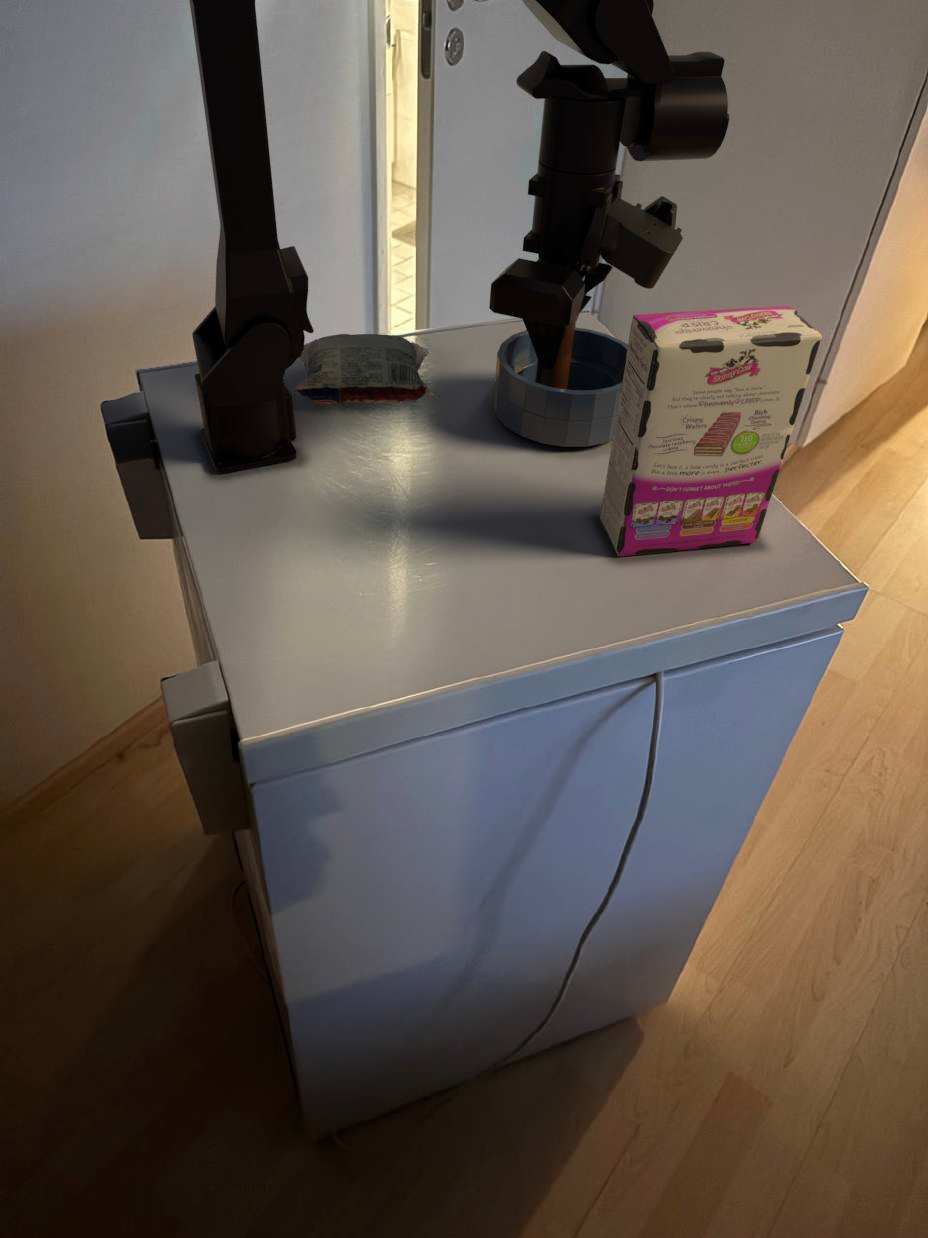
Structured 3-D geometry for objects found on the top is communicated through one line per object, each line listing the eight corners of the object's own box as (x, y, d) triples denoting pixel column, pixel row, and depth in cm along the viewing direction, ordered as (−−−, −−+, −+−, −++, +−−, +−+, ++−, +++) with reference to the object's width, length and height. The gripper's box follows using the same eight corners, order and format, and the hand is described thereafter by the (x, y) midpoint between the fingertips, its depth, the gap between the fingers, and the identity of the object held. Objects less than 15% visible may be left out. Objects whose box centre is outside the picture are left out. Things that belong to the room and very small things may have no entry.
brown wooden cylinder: (542, 407, 77) (554, 306, 71) (528, 392, 79) (538, 292, 73) (570, 402, 78) (585, 302, 72) (555, 387, 80) (568, 288, 74)
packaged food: (302, 367, 83) (297, 317, 80) (429, 368, 84) (430, 318, 81) (296, 416, 77) (291, 364, 74) (433, 416, 78) (434, 365, 75)
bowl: (531, 464, 73) (538, 404, 69) (471, 394, 81) (474, 337, 77) (657, 438, 77) (670, 379, 73) (588, 373, 85) (596, 318, 81)
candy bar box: (730, 506, 70) (792, 302, 59) (757, 545, 66) (829, 336, 55) (594, 517, 68) (631, 309, 57) (614, 558, 64) (658, 344, 53)
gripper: (657, 220, 57) (617, 434, 68) (708, 147, 70) (667, 336, 81) (494, 191, 60) (480, 401, 70) (572, 126, 73) (550, 312, 83)
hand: (552, 360), depth 76 cm, fingers closed on brown wooden cylinder, 3 cm apart
